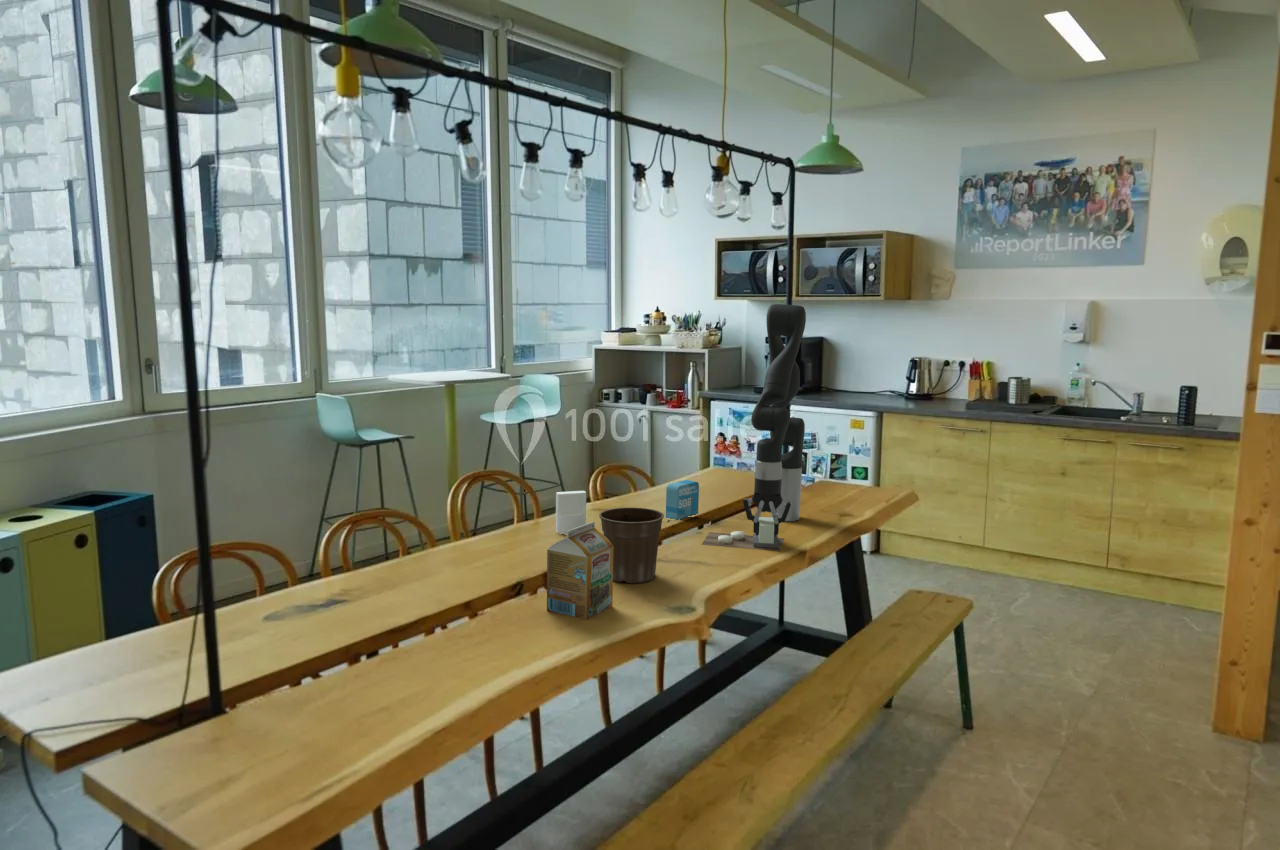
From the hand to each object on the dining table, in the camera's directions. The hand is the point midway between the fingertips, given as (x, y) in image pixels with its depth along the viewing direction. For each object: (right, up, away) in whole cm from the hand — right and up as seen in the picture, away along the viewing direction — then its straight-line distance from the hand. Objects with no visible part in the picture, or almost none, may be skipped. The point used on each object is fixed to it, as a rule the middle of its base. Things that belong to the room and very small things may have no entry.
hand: (765, 535), depth 246 cm
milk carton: (-49, -10, -52) cm, 72 cm away
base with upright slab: (-57, -1, +14) cm, 58 cm away
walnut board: (-6, -4, +2) cm, 7 cm away
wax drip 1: (-12, -2, +1) cm, 12 cm away
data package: (-22, +1, +32) cm, 39 cm away
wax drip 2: (-7, -1, +5) cm, 9 cm away
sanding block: (0, -2, 0) cm, 2 cm away
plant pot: (-38, -7, -28) cm, 48 cm away
